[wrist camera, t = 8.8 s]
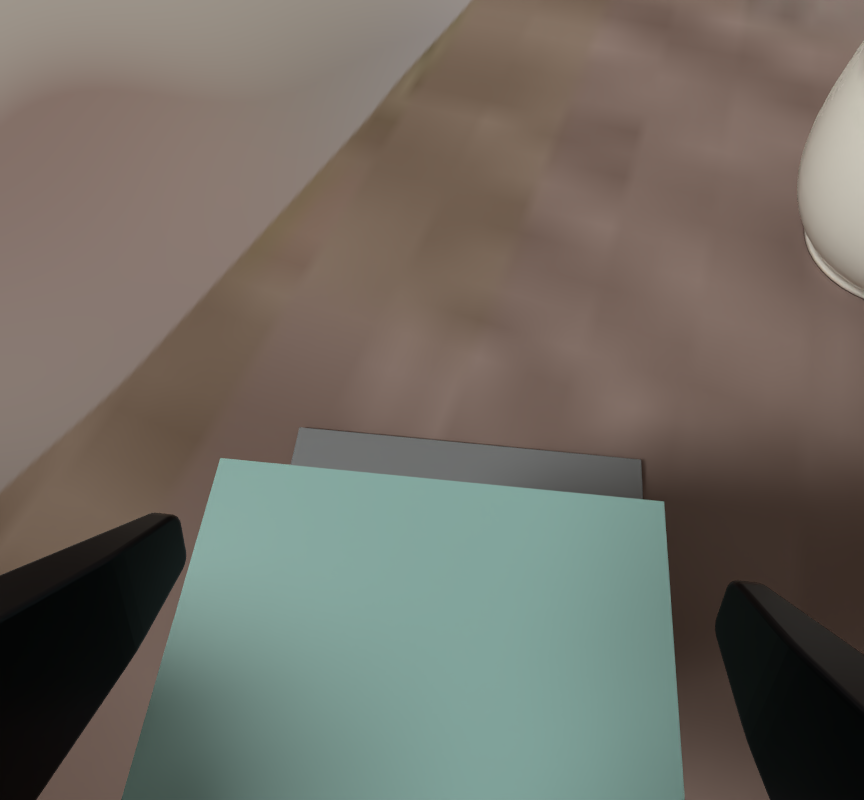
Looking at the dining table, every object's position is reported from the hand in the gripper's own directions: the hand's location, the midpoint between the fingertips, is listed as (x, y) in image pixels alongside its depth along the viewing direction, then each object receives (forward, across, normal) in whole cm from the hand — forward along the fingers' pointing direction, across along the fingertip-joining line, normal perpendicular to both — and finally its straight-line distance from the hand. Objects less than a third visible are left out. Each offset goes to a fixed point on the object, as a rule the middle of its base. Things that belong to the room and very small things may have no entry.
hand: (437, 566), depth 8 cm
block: (+5, 0, +6) cm, 8 cm away
